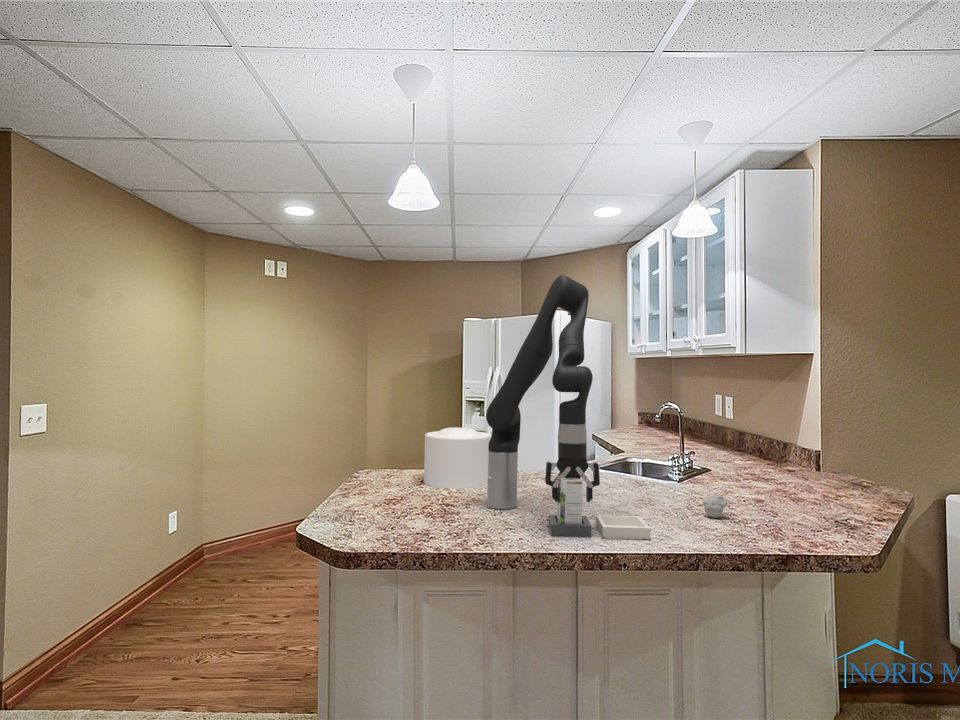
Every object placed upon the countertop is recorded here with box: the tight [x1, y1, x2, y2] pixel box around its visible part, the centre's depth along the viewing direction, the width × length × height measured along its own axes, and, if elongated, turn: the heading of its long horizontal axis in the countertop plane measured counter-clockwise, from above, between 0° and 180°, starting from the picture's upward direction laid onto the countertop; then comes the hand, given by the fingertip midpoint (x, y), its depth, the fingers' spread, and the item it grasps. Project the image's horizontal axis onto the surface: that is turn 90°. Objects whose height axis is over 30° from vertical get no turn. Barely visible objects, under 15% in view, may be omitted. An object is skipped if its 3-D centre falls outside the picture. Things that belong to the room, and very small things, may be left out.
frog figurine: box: [702, 493, 729, 519], centre depth 172 cm, size 6×7×7 cm
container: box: [423, 426, 492, 490], centre depth 218 cm, size 25×25×20 cm
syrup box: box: [556, 477, 584, 524], centre depth 155 cm, size 6×6×14 cm
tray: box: [595, 514, 652, 541], centre depth 154 cm, size 12×12×3 cm
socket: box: [548, 514, 592, 538], centre depth 155 cm, size 10×10×3 cm
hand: (572, 501), depth 155 cm, fingers open, 8 cm apart
